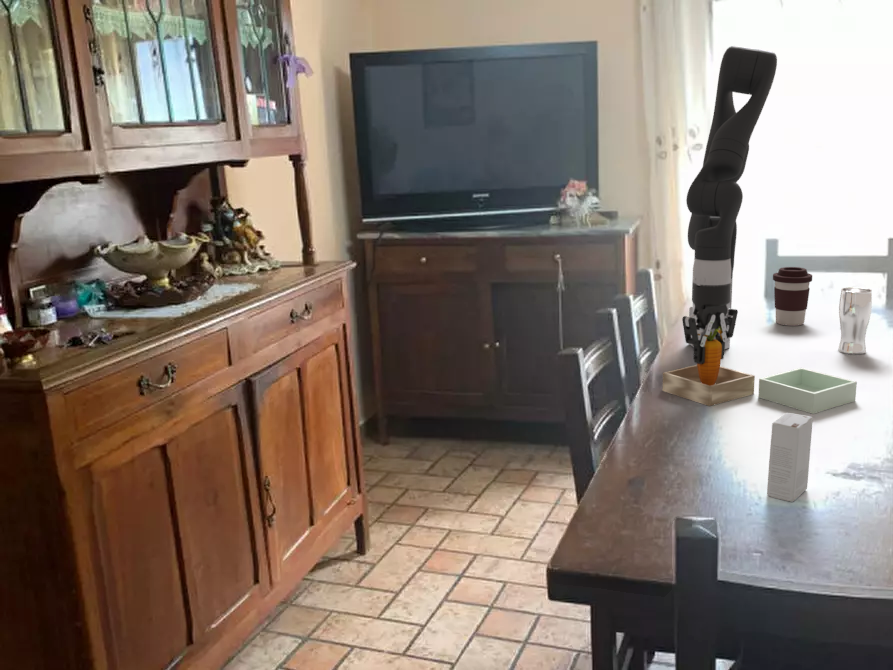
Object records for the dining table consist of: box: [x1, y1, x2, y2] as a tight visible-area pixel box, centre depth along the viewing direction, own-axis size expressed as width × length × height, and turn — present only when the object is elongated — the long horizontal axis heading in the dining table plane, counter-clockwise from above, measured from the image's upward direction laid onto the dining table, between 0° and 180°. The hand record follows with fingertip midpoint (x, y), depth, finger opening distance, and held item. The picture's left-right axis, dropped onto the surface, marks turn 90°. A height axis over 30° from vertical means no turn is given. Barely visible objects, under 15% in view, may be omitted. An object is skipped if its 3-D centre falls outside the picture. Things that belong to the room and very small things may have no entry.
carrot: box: [696, 326, 722, 386], centre depth 188 cm, size 5×5×15 cm
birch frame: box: [662, 364, 756, 407], centre depth 189 cm, size 13×13×4 cm
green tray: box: [757, 367, 858, 415], centre depth 182 cm, size 13×13×4 cm
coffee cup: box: [772, 266, 813, 327], centre depth 245 cm, size 10×10×15 cm
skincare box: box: [766, 412, 814, 503], centre depth 138 cm, size 6×4×12 cm
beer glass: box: [837, 286, 873, 355], centre depth 215 cm, size 7×7×15 cm
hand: (708, 360), depth 188 cm, fingers closed on carrot, 5 cm apart
